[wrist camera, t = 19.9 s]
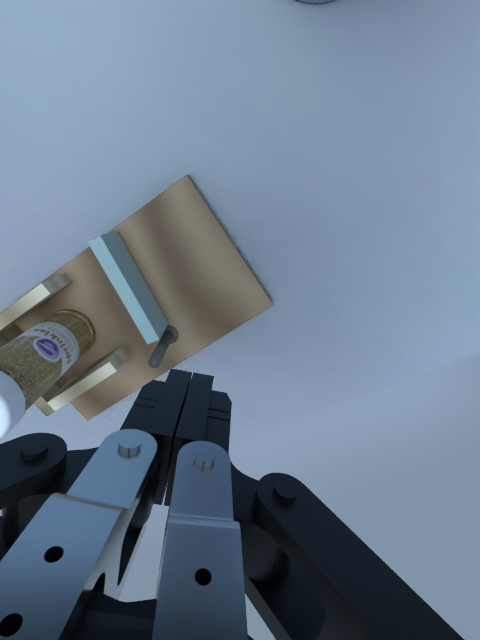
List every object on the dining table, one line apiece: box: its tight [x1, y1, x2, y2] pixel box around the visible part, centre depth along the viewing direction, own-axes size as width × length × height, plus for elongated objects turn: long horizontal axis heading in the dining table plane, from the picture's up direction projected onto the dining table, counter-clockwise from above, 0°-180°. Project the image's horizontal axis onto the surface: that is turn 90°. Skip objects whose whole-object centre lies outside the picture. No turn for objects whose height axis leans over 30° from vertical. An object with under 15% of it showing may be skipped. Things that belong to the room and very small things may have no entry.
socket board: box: [0, 175, 273, 421], centre depth 31 cm, size 22×13×7 cm, turn 124°
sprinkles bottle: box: [0, 310, 94, 439], centre depth 27 cm, size 5×5×14 cm
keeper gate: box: [88, 231, 168, 344], centre depth 30 cm, size 1×9×4 cm, turn 24°
